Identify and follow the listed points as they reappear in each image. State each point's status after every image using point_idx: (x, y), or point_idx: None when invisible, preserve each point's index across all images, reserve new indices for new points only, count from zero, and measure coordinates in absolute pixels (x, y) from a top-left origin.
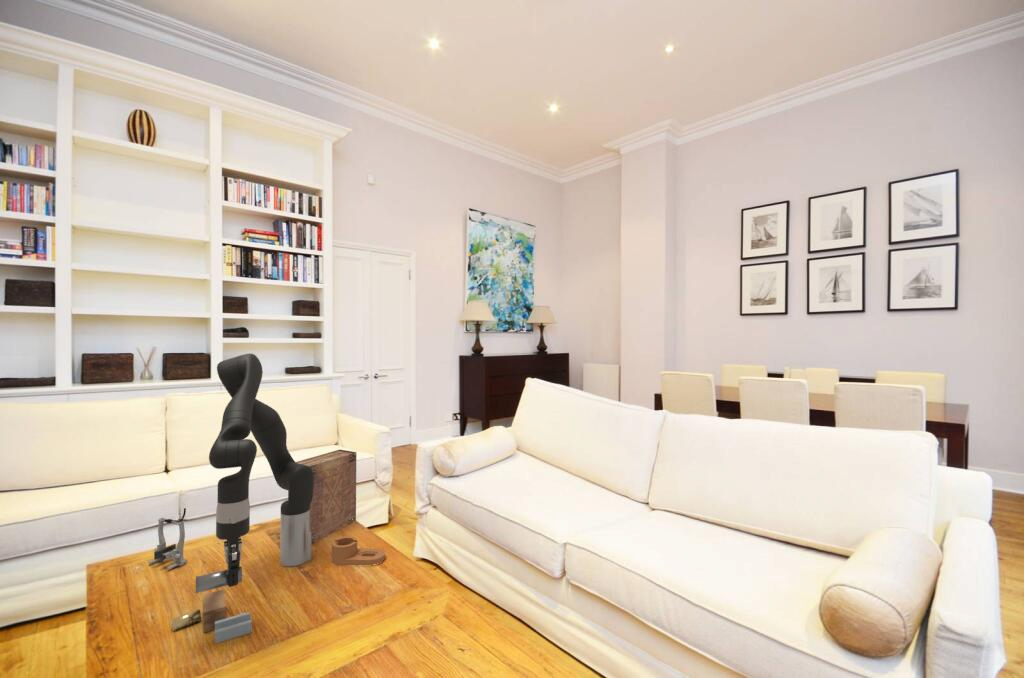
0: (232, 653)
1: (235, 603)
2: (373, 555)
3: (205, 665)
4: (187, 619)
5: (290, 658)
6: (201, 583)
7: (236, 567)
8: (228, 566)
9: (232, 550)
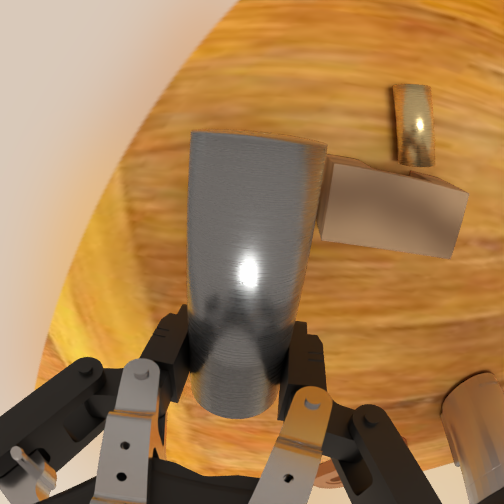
0: (158, 207)
1: (421, 262)
2: (339, 477)
3: (145, 143)
4: (402, 123)
5: (88, 298)
6: (191, 175)
7: (85, 411)
8: (31, 393)
9: (6, 496)
